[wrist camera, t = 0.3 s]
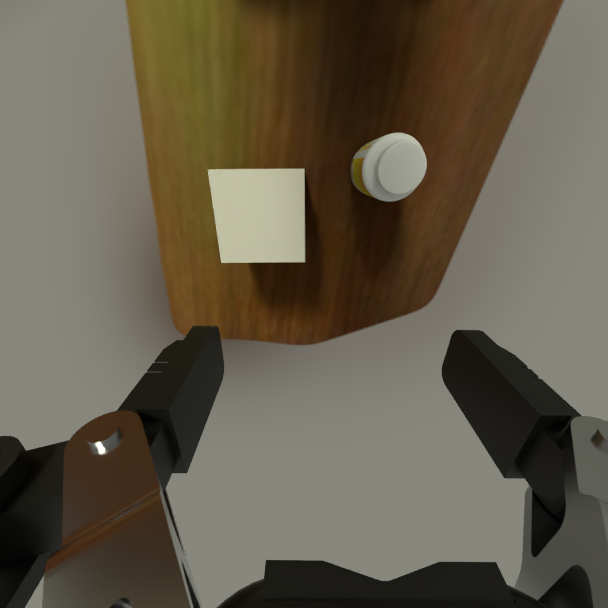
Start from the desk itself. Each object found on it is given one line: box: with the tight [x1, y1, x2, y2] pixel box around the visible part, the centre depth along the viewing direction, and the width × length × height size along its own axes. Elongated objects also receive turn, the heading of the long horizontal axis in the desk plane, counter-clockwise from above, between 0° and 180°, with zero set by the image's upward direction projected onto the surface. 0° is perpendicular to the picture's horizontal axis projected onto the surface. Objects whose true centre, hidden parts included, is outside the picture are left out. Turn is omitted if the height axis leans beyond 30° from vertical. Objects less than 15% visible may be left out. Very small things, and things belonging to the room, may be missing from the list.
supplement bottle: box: [350, 133, 427, 202], centre depth 27 cm, size 6×6×10 cm
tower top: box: [208, 169, 305, 263], centre depth 27 cm, size 8×8×5 cm
